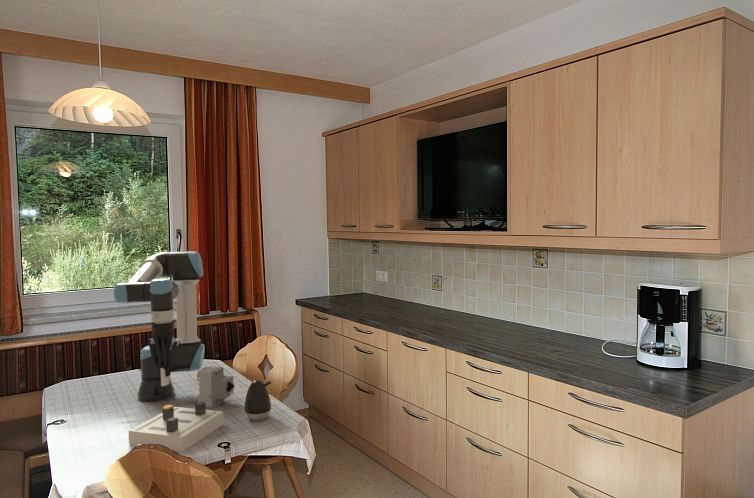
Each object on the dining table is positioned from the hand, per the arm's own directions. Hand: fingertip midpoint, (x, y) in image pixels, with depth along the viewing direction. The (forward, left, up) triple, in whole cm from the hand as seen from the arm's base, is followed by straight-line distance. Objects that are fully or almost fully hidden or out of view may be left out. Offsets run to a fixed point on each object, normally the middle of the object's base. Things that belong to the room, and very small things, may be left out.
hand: (165, 384), depth 187 cm
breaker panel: (+5, 0, -18) cm, 19 cm away
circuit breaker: (+1, +31, -18) cm, 36 cm away
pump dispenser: (+26, +21, -18) cm, 38 cm away
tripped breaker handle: (+1, 0, -13) cm, 12 cm away
